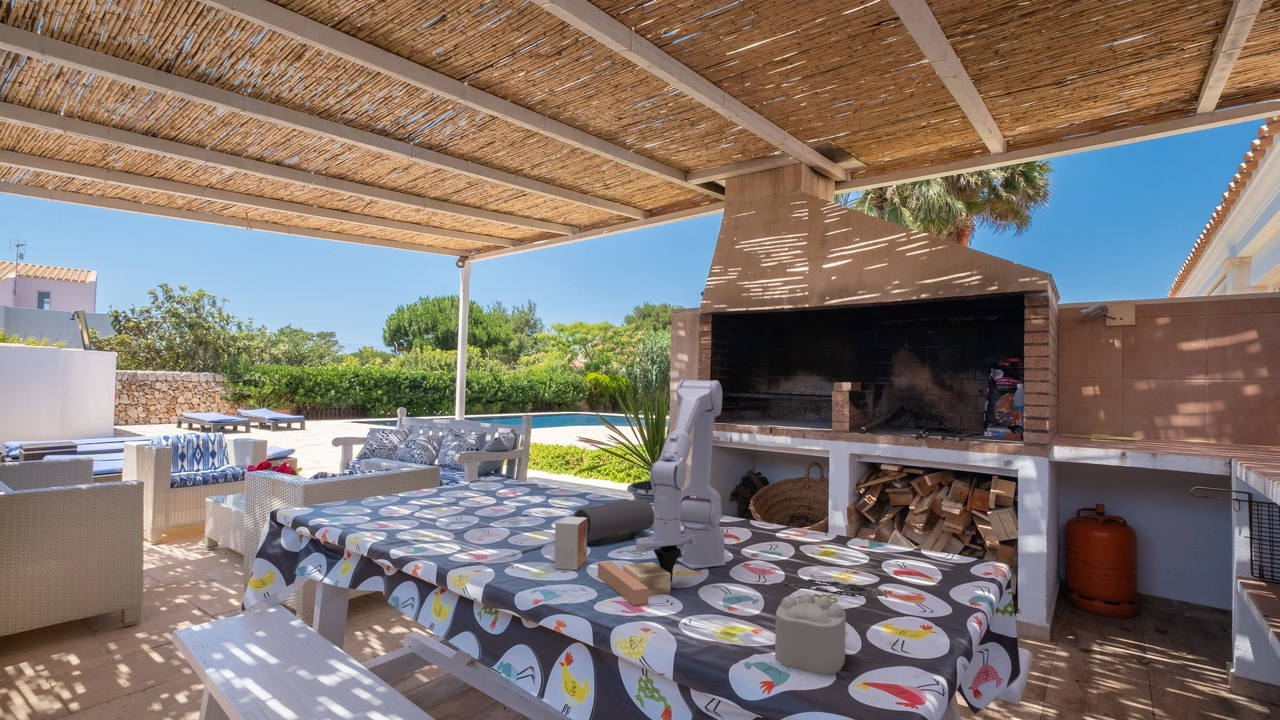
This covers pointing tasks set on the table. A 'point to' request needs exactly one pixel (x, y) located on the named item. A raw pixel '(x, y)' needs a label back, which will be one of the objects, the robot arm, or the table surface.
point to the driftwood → (848, 588)
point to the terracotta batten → (623, 583)
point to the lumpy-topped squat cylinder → (810, 634)
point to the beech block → (650, 577)
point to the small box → (570, 543)
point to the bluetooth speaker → (617, 519)
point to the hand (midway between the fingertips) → (666, 581)
